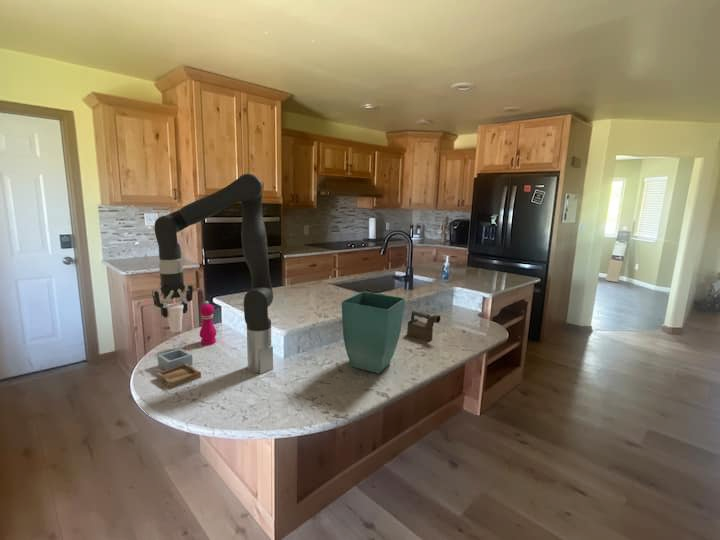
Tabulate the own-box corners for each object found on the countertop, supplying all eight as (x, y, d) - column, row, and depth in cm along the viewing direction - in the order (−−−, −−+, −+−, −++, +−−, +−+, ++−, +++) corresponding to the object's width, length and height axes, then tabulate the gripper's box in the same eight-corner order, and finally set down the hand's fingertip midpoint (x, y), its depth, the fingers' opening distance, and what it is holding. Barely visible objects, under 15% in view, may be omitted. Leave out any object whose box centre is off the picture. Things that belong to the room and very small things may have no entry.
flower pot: (360, 351, 169) (362, 290, 164) (401, 360, 161) (405, 297, 155) (338, 368, 152) (340, 301, 146) (384, 380, 143) (387, 309, 138)
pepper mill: (213, 346, 169) (211, 303, 165) (197, 345, 169) (195, 302, 165) (219, 340, 176) (217, 299, 172) (204, 339, 176) (202, 298, 172)
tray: (201, 377, 140) (200, 372, 140) (171, 388, 132) (171, 383, 131) (186, 368, 147) (185, 363, 146) (157, 378, 138) (156, 373, 138)
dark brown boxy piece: (431, 343, 181) (434, 317, 178) (405, 334, 192) (407, 309, 189) (440, 339, 187) (443, 314, 184) (415, 330, 198) (416, 306, 195)
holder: (192, 365, 150) (192, 354, 149) (169, 373, 143) (168, 362, 142) (181, 358, 155) (180, 348, 154) (158, 365, 148) (157, 355, 147)
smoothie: (172, 334, 136) (169, 297, 133) (163, 331, 139) (159, 294, 136) (189, 329, 141) (186, 293, 138) (179, 326, 144) (176, 291, 142)
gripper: (155, 275, 128) (159, 322, 131) (195, 269, 139) (198, 312, 142) (145, 272, 132) (150, 317, 136) (186, 266, 143) (189, 308, 147)
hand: (174, 314), depth 139 cm, fingers closed on smoothie, 6 cm apart
